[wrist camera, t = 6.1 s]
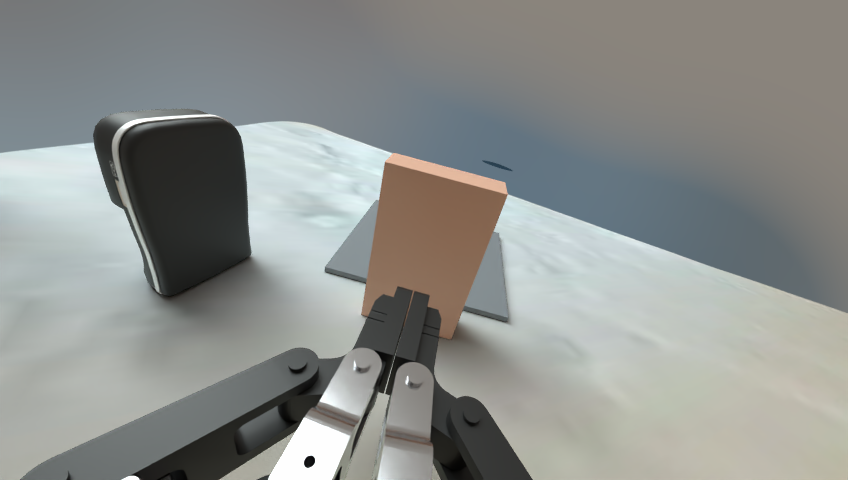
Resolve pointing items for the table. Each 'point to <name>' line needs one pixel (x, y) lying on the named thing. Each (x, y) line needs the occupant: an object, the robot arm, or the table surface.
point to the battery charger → (178, 191)
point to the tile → (431, 234)
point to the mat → (484, 292)
